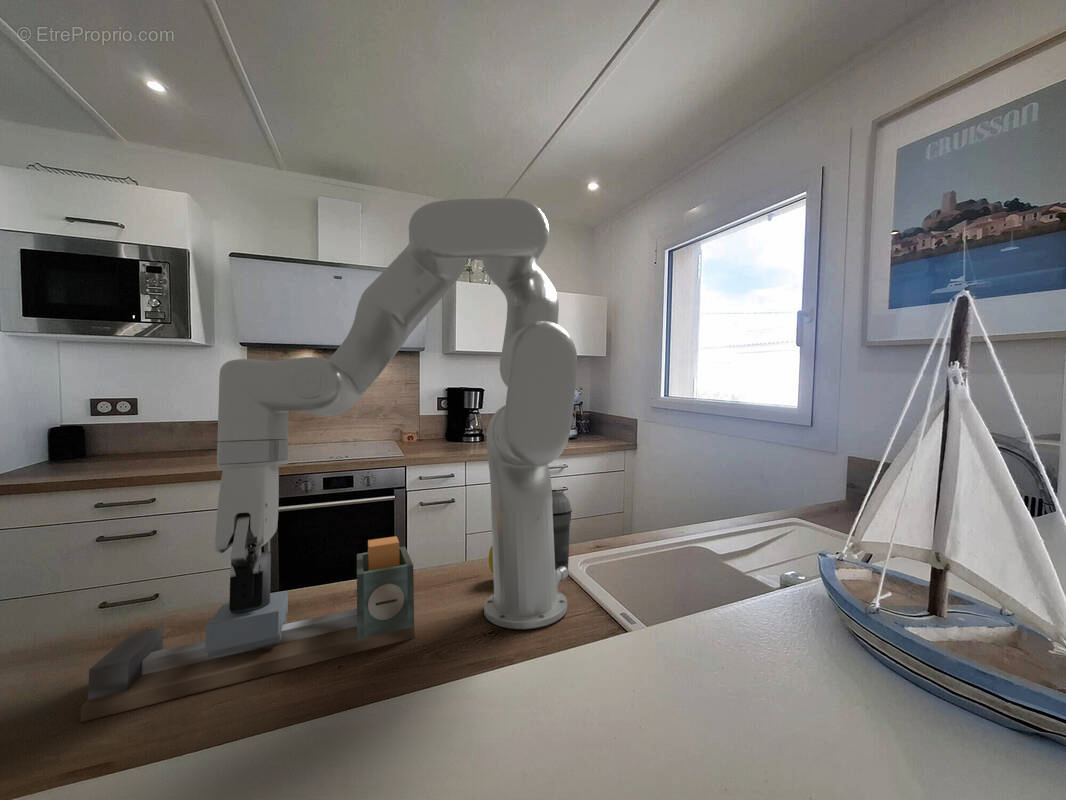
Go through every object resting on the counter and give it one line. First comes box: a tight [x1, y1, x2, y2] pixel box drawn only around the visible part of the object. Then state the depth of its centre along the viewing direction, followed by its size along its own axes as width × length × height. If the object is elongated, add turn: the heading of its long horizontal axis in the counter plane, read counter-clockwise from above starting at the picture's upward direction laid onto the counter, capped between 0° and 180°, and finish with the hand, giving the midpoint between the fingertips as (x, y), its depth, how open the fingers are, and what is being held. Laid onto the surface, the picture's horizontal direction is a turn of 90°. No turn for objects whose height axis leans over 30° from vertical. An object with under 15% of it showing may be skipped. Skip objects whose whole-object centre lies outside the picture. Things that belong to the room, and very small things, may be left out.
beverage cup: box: [552, 489, 573, 570], centre depth 74 cm, size 7×7×20 cm
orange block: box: [367, 535, 400, 571], centre depth 55 cm, size 4×4×4 cm
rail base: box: [80, 546, 415, 723], centre depth 50 cm, size 32×10×10 cm, turn 115°
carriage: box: [205, 552, 289, 657], centre depth 49 cm, size 7×7×10 cm
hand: (251, 598), depth 49 cm, fingers closed on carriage, 4 cm apart
